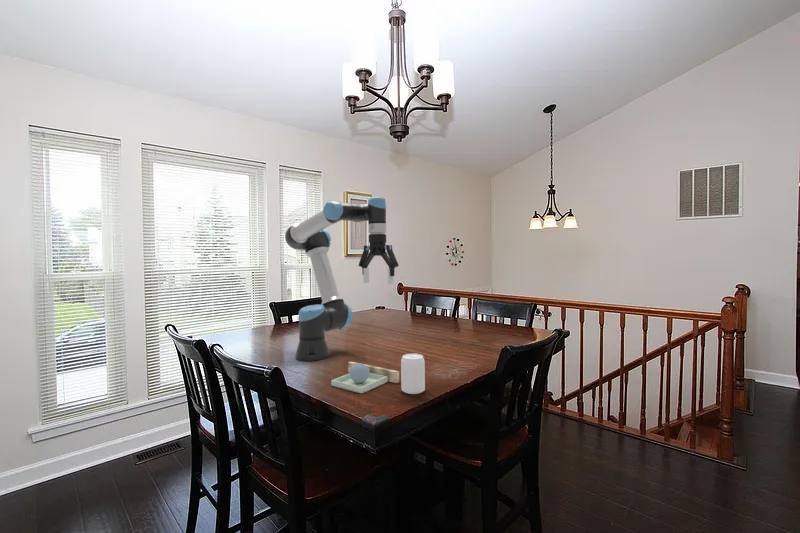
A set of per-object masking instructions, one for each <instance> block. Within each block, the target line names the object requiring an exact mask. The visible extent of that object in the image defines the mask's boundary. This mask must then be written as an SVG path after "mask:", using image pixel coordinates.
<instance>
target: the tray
mask: <svg viewBox="0 0 800 533" xmlns="http://www.w3.org/2000/svg"><path fill="white" fill-rule="evenodd" d="M388 382H389V381H388V376H383V375H379V374H374V373H370V372H369V376H368V378H367V380H366V381H365V382H363V383H356V382H354V381H353V380H352V379H351V377H350V373H349V372H348V373H346V374H344V375H342V376H339V377H337V378H334V379H333V378H332V379H331V381H330V386H331V387H334V388H339V389H343V390H345V391H350V392H354V393H357V394H361V395H362V394H363V395H364V393H367V392H369V391H370V390H373V389H375V388H378V387H380V386H381V385H384V384H385V383H388Z"/></svg>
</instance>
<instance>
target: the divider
mask: <svg viewBox="0 0 800 533" xmlns="http://www.w3.org/2000/svg"><path fill="white" fill-rule="evenodd" d="M358 363H359V362H355V361H351V360H350V361H348V362H347V373H348V374H349V373H350V370H351V368H352V366H354V365H355V364H358ZM363 364H364V363H363ZM364 365H366V366H367V367H368V370H369V372H370V373H374V374H379V375H383V376H388V382H390V383H394V384H398V383H400V370H399V371H398V370H395V369H390V368H385V367H380V366H374V365H370V364H366V363H365V364H364Z"/></svg>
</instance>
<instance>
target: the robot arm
mask: <svg viewBox="0 0 800 533" xmlns="http://www.w3.org/2000/svg"><path fill="white" fill-rule="evenodd" d="M340 221H349V222H350V221H351V222H354V223H361V222H368V234H369V235H368V243H369V244H368V245H367V244H366V245H363V251H362V254H361V257H360V260H359V263H358V267H360V268H361V269H362V276H363V284H367V283H370V269H369V265H370V264H371V262H372V260H373V259H374V257H376V256H377V257H379V256H380V257H382V259H383V260H384V263H385V264H386V265H387V266H388V268H387V285H394V277H395V270H396V268H398V267H399V262H398V261H397V258H396V255H395V253H394V250H393V246H392V244H386V243H387V203H386V199H385V198H384V197H383V196H372V197H369V198H368V199H367V203H351V202H342V201H336V200H333V201H327V202H326V203H325V204H324V206H323V209H322V210H320V211H319V212H317V213H315V214H314V215H312V216H310V217H308V218H307V219H305V220H304V221H302V222H301V223H294V224H292V225H291V226H290V227H288V228H287V229H286V231H285V235H284V236H285V237H284V238H285V242H286V244H287V245H288V246H289V247H290V248H291V249H294V250H297V251H298V250H299V251H304V252H305V254H306V257H309V259H310V261H311V265H312V269H313V272H314V276H315V280H316V284H317V287H318V290H319V291H318V292H319V295H320V298H321V304H310V305H306V306H303V307H301V308H300V309H299V311H298V338H299V339H298V344H297V350H296V351H295V359H296V360H298V361H303V362H304V361H305V362H306V361H307V362H309V361H310V362H314V361H319V360H325V359H327V358H329V357H330V350H329V346H328V344H327V340H326V332H331V331H335V330H342V329H345V328H347V327H348V326H350V325H351V322H352V319H353V310H352V307H351V306H350V305H349V304H347V303H345V300H344V298H342V297H340V295H339V291H338V288H337V284H336V281H335V276H334V273H333V270H332V265H331V263H330V259H329V256H328V252H329V249H330V246H331V241H332V238H331V235H330V232H329V231H328V230H327V229H326V228H329V227H330V226H332V225H334V224H336V223H338V222H340Z"/></svg>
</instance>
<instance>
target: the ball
mask: <svg viewBox="0 0 800 533" xmlns="http://www.w3.org/2000/svg"><path fill="white" fill-rule="evenodd" d="M357 363H358V364H355V365H354V366H352V368H351V370H350V377H351V379H352V380H353V381H354V382H356V383H363V382H365V381H366V380H367V378H368V376H369V370H368V367H367V366H366V365H367V364H366V365H364V363H361V362H360V363H359V362H357Z"/></svg>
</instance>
